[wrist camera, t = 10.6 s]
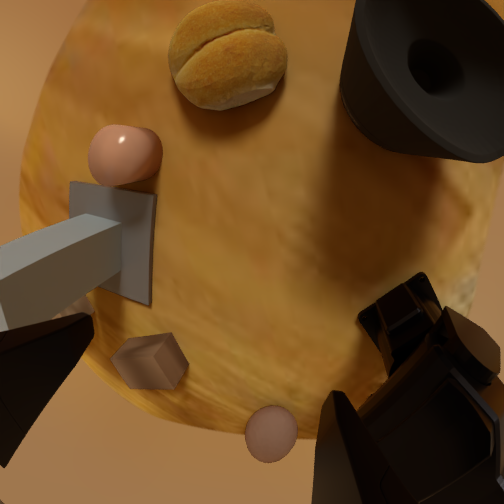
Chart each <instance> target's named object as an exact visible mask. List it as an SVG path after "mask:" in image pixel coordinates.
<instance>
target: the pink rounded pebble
mask: <svg viewBox="0 0 504 504" xmlns="http://www.w3.org/2000/svg"><path fill="white" fill-rule="evenodd" d="M162 156H163V148H162V144H161V141H160V139H159V137H158V136H157V134H156V133H155V132H153V131H152V130H150V129H147V128H140V127H132V126H123V125H108V126H106V127H104V128H102V129H101V130H100V131H99V132H98V133H97V134H96V135H95V136H94V138H93V140H92V142H91V145H90V148H89V153H88V163H89V168H90V171H91V174H92V176H93V177H94V179H95V180H96V181H97V182H98V183H100V184H101V185H103V186H108V187H111V186H116V185H121V184H126V183H132V182H137V181H142V180H146V179H148V178H150V177H151V176H153V175H154V174H155V173H156V171H157V170H158V168H159V166H160V164H161V161H162Z"/></svg>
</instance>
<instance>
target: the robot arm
mask: <svg viewBox="0 0 504 504" xmlns="http://www.w3.org/2000/svg"><path fill="white" fill-rule="evenodd" d="M421 277H423V279H422V280H421V281H419V279H420V278H421ZM363 316H367V317H366V318H362V317H363ZM358 319H359V321H360V323H361V324H362V326H363V327H364V329H365V330H366V332H367V333H368V335H369V336H370V337H371V339H372V340H373V342H374V343H375V345H376V346H377V348H378V349H379V351H380V352H381V354H382V357H383V361H384V365H385V368H386V372H387V376H388V380H387V381H386V382H385V383H384V384H383V385H382V386H381V387H380V388H379V389H378V390H377V391H376V392H375V393H374V394H371V395H370V396H369V397H368V398H367V399H366V402H365V403H364V404H363V405H361V406H360V407H359V409H358V410H357V412H356V410H355V409H354V407H353V406H352V404H351V402H350V401H349V399H348V398H347V396H346V395H345V393H344V392H342V391H337V390H332V391H331V392H330V393H329V395H328V397H327V399H326V400H325V402H324V404H323V406H322V410H321V416H320V423H319V429H318V435H317V441H316V447H315V463H314V478H313V479H314V480H313V492H312V504H504V384H503V383H502V382H501V380H500V379H499V378H498V376H497V375H498V374H499V373H500V347H499V346H498V345H497V343H496V342H495V341H494V340H493V339H492V338H491V337H490V336H489V334H488V333H487V332H486V331H485V330H484V329H483V328H481V327H480V326H478V325H477V324H475V323H473V322H472V321H470V320H469V319H467V318H465V317H464V316H462V315H461V314H459V313H457V312H456V311H454V310H452V309H451V308H449V307H448V306H445V308H444V309H443V310H442V308H441V305H440V303H439V301H438V299H437V296H436V294H435V292H434V290H433V288H432V286H431V283H430V281H429V279H428V277H427V276H426V274H425V273H423V272H419V273H417V274H416V275H415V276H413V277H412V278H410V279H409V280H408V281H406V282H405V283H401V284H400V285H398V286H397V287H396V288H394V289H393V290H391V291H390V292H388V293H387V294H385V295H384V296H382V297H381V298H379V299H378V300H377V301H376V302H375V303H374V304H372V305H370V306H369V307H367V308H366V309H364V310H362V311H361V312H360V313H359V314H358ZM93 337H94V326H93V320H92V317H91V316H90V315H89V314H87V313H85V312H80V313H76V314H72V315H68V316H64V317H60V318H56V319H52V320H48V321H44V322H40V323H35V324H31V325H27V326H23V327H19V328H15V329H10V330H6V331H2V332H0V465H1V466H2V467H3V468H5V467H6V466H7V464H8V463H9V461H10V459H11V458H12V456H13V454H14V453H15V451H16V449H17V448H18V446H19V445H20V443H21V442H22V440H23V439H24V437H25V436H26V435H25V434H27V432H28V431H29V429H30V428H31V426H32V425H33V423H34V422H35V421H36V419H37V418H38V416H39V415H40V413H41V412H42V410H43V409H44V408H45V406H46V405H47V403H48V402H49V401H50V399H51V398H52V396H53V395H54V394H55V392H56V391H57V390H58V388H59V387H60V386H61V384H62V383H63V382H64V380H65V379H66V378H67V376H68V375H69V374H70V372H71V371H72V370H73V368H74V367H75V366H76V364H77V362H78V361H79V360H80V358H81V356H82V355H83V353H84V351H85V350H86V348H87V347H88V345H89V344H90V342H91V340H92V339H93ZM0 504H4V503H3V502H2V501H1V500H0Z"/></svg>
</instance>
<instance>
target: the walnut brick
mask: <svg viewBox="0 0 504 504" xmlns="http://www.w3.org/2000/svg"><path fill="white" fill-rule="evenodd" d="M110 360H111V362H112V363H113V365H114V366H115V368H116V369H117V371H118V372H119V374H120V375H121V377H122V378H123V380H124V381H125V382H126V384H127V385H128V387H129V388H130V389H175V388H176V386H177V384H178V382H179V381H180V379H181V377H182V376H183V374H184V372H185V370H186V369H187V367H188V365H189V363H188V361H187V359H186V358H185V356H184V354H183V352H182V351H181V349H180V347H179V345H178V343H177V342H176V340H175V338H174V336H173V334H172V332H171V333H164V334H157V335H150V336H143V337H135V338H129V339H128V340H127V341H126V342H125V343H124V344H123V345H122V346H121V347H120V348H119V349H118V351H117V352H116V353H115V354H114V355H113V356H112V357H111V358H110Z"/></svg>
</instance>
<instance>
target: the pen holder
mask: <svg viewBox="0 0 504 504" xmlns="http://www.w3.org/2000/svg"><path fill="white" fill-rule="evenodd" d="M340 92H341V97H342V101H343V104H344V107H345V109H346V111H347V113H348V115H349V117H350V118H351V120H352V122H353V123H354V124H355V125H356V127H357V128H358V129H359V130H360V131H361V132H362V133H363V134H364V135H365V136H366V137H367V138H369V139H370V140H371V141H373V142H374V143H376V144H377V145H379V146H381V147H383V148H385V149H388V150H390V151H394V152H398V153H403V154H411V155H418V156H428V157H436V158H444V159H452V160H459V161H466V162H472V163H487V162H491V161H494V160H496V159H498V158H500V157H502V156H504V20H503V19H502V18H501V17H500V16H499V15H498V13H497V12H496V11H495V10H494V9H493V8H492V7H491V6H490V5H489V4H488V3H487V2H486V1H484V0H356V3H355V8H354V13H353V18H352V22H351V27H350V32H349V37H348V41H347V46H346V50H345V55H344V59H343V64H342V70H341V75H340Z"/></svg>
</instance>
